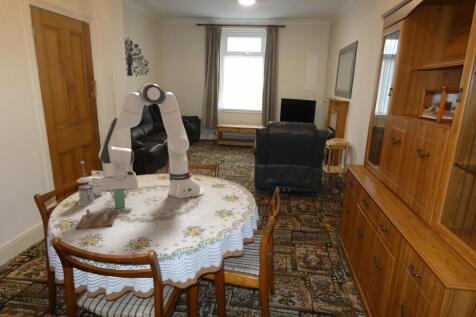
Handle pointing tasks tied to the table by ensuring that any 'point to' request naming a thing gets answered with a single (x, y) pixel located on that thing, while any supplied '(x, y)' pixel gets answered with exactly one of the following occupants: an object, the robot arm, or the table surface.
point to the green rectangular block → (119, 198)
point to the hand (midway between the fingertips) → (119, 197)
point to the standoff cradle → (96, 220)
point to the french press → (85, 191)
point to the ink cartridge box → (96, 182)
